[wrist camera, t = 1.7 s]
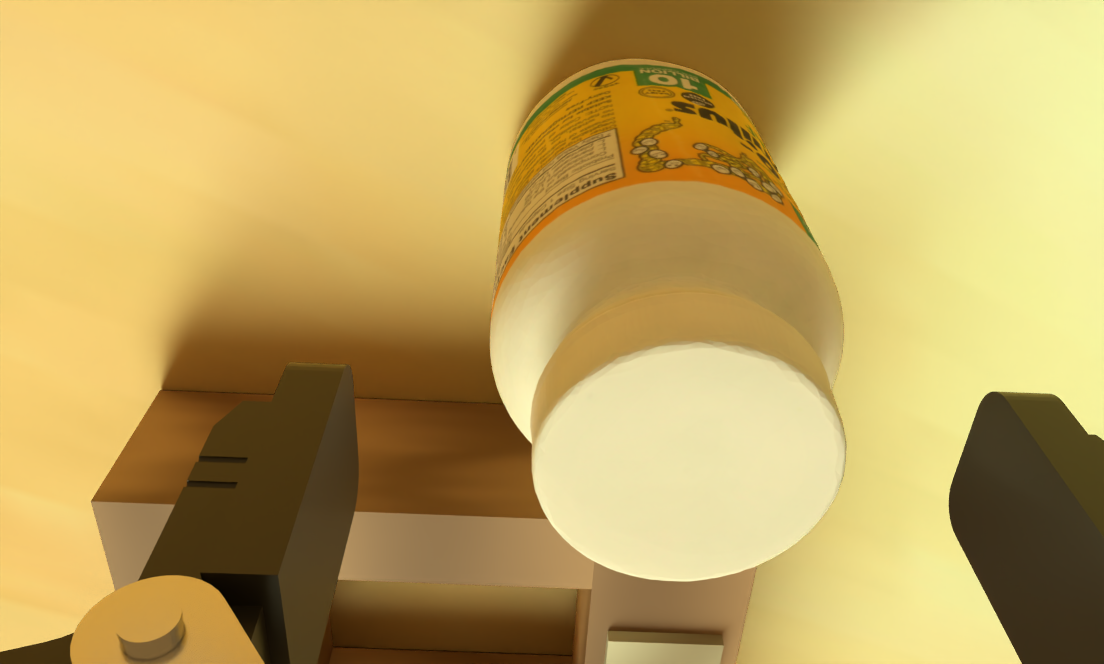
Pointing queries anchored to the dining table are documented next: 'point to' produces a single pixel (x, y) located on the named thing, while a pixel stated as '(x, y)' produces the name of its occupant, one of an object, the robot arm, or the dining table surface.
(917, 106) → the dining table surface
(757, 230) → the supplement bottle
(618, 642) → the socket block
